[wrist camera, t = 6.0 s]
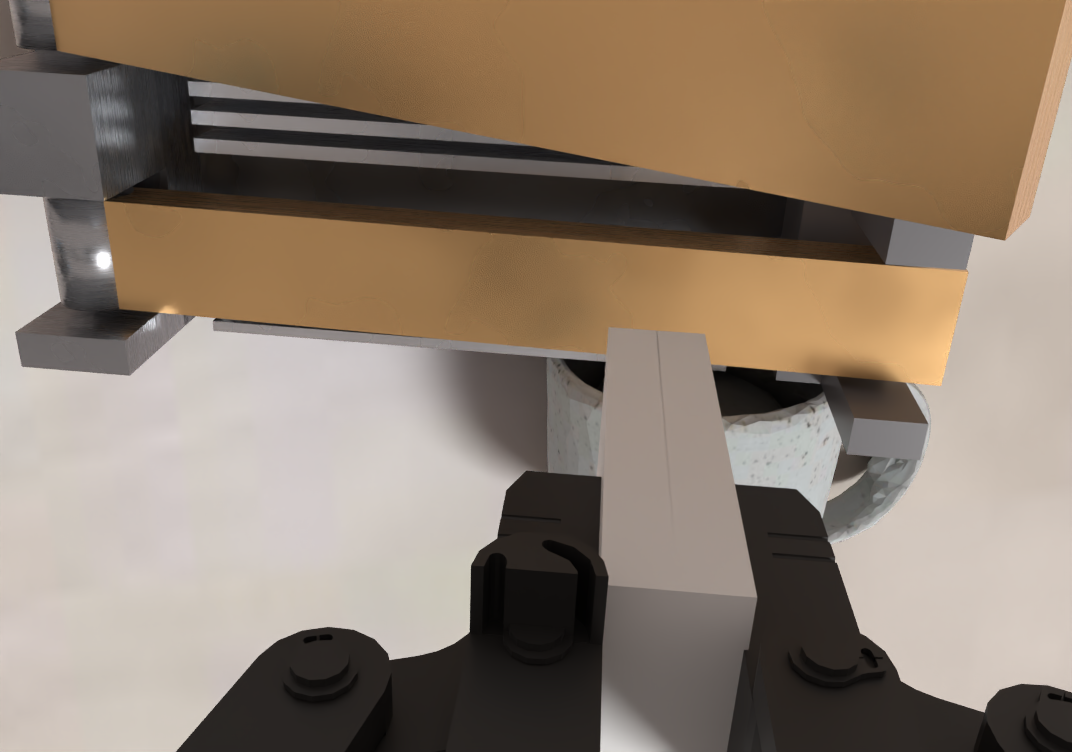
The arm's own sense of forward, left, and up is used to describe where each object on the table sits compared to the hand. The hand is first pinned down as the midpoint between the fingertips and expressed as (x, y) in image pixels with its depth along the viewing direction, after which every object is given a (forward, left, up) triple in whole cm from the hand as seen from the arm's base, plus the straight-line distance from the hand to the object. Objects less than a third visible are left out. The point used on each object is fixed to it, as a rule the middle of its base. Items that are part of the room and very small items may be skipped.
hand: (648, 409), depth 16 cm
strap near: (-4, +5, -2) cm, 7 cm away
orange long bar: (-3, 0, -6) cm, 7 cm away
